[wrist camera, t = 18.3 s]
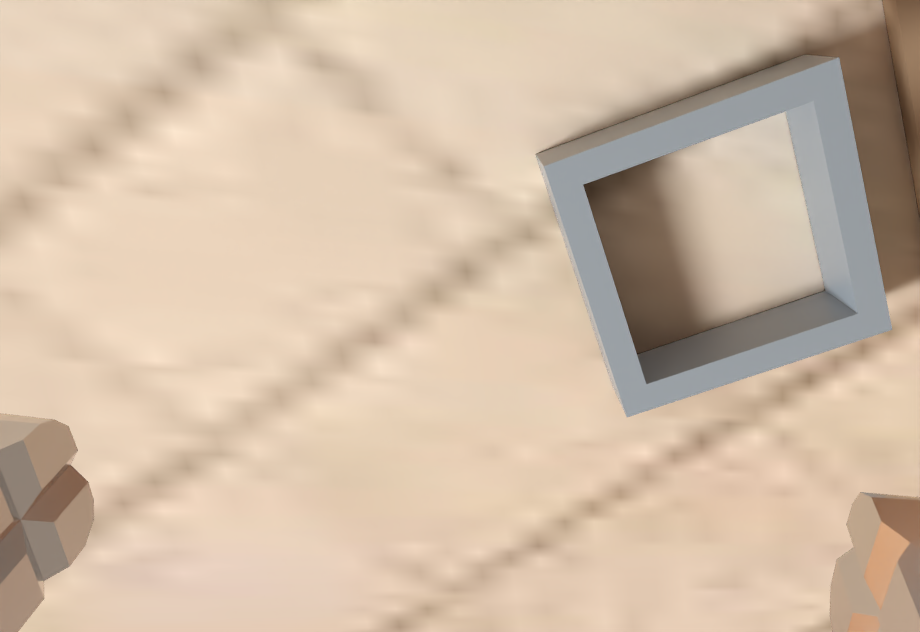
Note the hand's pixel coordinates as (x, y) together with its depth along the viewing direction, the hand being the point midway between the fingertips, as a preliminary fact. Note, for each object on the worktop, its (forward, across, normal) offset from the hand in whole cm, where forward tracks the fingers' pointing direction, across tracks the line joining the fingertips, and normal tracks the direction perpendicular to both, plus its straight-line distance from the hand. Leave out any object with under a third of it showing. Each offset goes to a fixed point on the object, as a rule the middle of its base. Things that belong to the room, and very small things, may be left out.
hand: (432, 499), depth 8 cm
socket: (+27, -6, +8) cm, 29 cm away
